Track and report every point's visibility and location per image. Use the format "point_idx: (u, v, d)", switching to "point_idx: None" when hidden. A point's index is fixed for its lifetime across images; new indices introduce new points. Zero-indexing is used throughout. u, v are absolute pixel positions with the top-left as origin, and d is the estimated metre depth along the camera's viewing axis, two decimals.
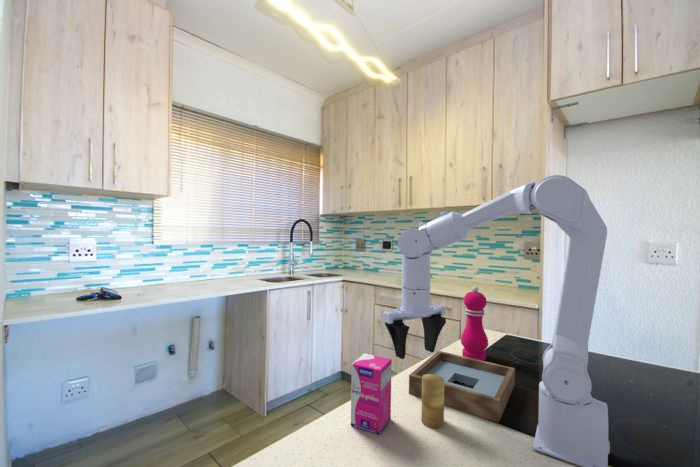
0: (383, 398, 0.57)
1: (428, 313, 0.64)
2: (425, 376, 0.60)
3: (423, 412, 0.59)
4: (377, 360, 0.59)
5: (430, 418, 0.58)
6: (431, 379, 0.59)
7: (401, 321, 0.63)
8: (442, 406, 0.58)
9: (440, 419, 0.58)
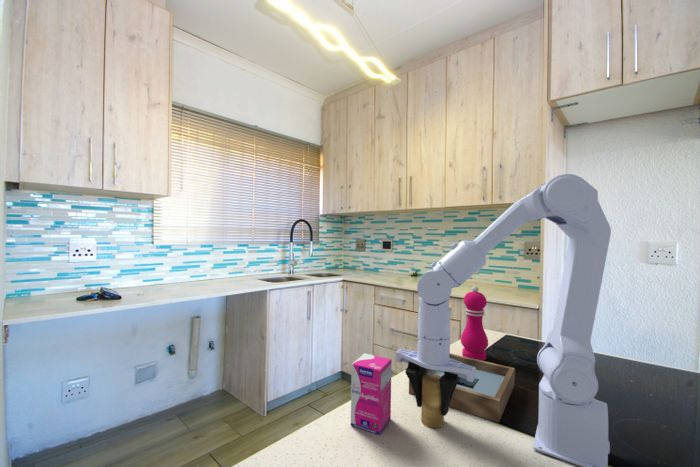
0: (383, 398, 0.57)
1: (431, 367, 0.57)
2: (425, 376, 0.60)
3: (423, 412, 0.59)
4: (377, 360, 0.59)
5: (430, 418, 0.58)
6: (431, 379, 0.59)
7: (410, 364, 0.61)
8: None
9: (440, 419, 0.58)
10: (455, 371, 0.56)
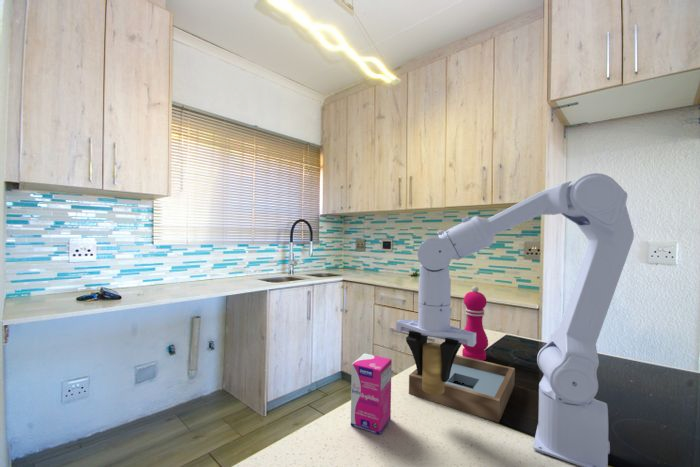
0: (383, 398, 0.57)
1: (432, 333, 0.57)
2: (426, 344, 0.60)
3: (424, 379, 0.59)
4: (377, 360, 0.59)
5: (431, 385, 0.58)
6: (432, 346, 0.59)
7: (411, 333, 0.61)
8: None
9: (441, 386, 0.58)
10: (456, 336, 0.56)
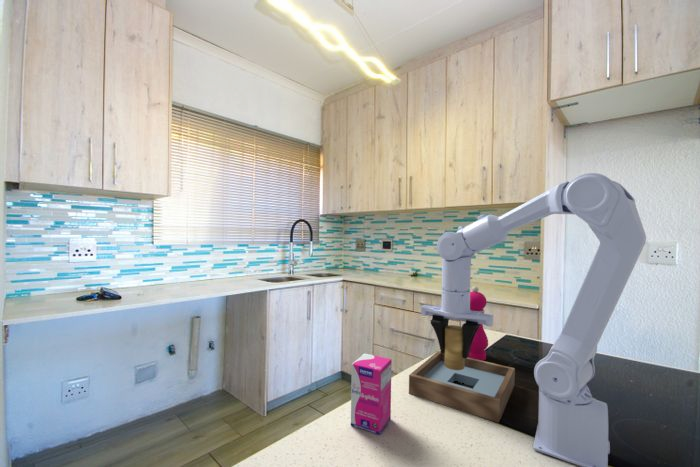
0: (383, 398, 0.57)
1: (455, 315, 0.65)
2: (447, 326, 0.68)
3: (446, 357, 0.67)
4: (377, 360, 0.59)
5: (453, 362, 0.66)
6: (453, 328, 0.67)
7: (434, 316, 0.69)
8: None
9: (462, 362, 0.66)
10: (476, 318, 0.64)
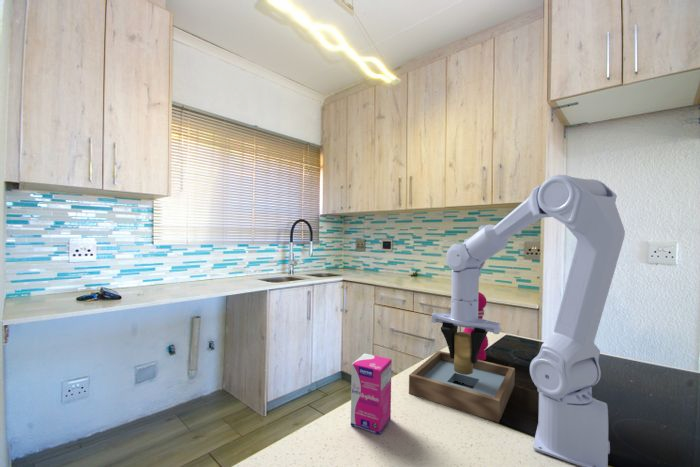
0: (383, 398, 0.57)
1: (464, 323, 0.69)
2: (457, 333, 0.73)
3: (456, 362, 0.71)
4: (377, 360, 0.59)
5: (462, 367, 0.70)
6: (462, 335, 0.71)
7: (444, 324, 0.74)
8: None
9: (470, 367, 0.70)
10: (484, 326, 0.68)
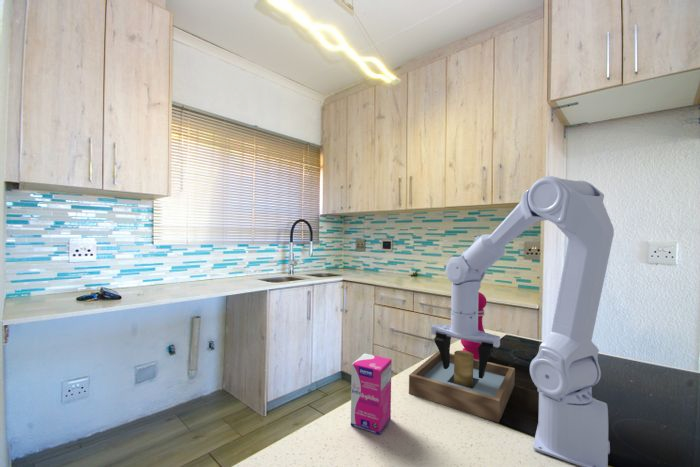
0: (383, 398, 0.57)
1: (464, 336, 0.69)
2: (457, 352, 0.73)
3: (456, 381, 0.71)
4: (377, 360, 0.59)
5: None
6: (462, 354, 0.72)
7: (444, 336, 0.74)
8: (472, 376, 0.71)
9: (470, 386, 0.70)
10: (483, 339, 0.68)
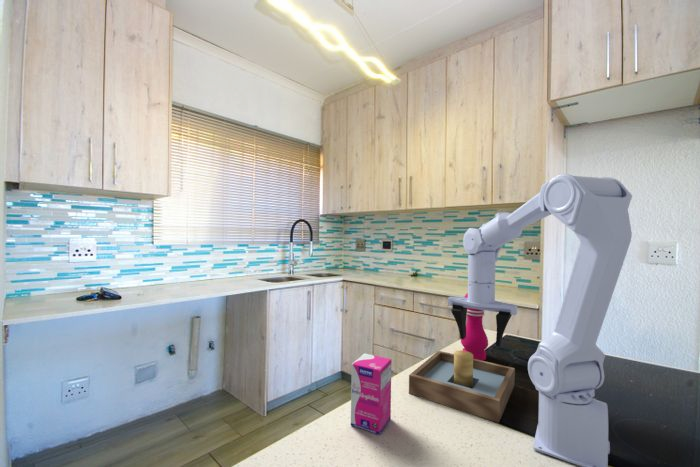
0: (383, 398, 0.57)
1: (481, 305, 0.70)
2: (456, 352, 0.73)
3: (456, 381, 0.71)
4: (377, 360, 0.59)
5: None
6: (462, 354, 0.72)
7: (461, 307, 0.75)
8: (472, 376, 0.71)
9: (470, 386, 0.70)
10: (501, 307, 0.69)
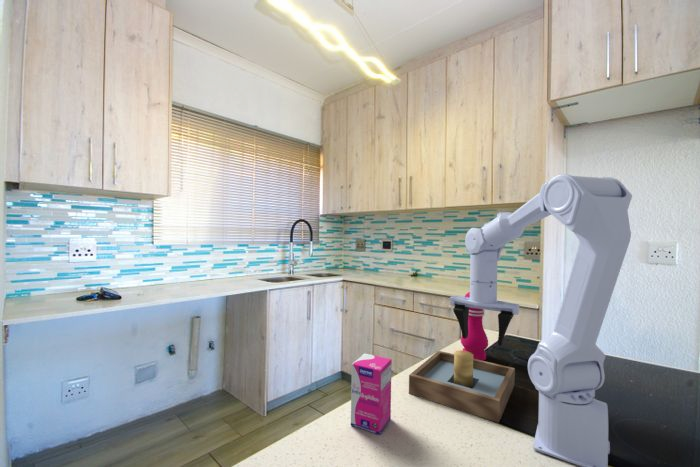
0: (383, 398, 0.57)
1: (483, 304, 0.71)
2: (457, 352, 0.73)
3: (456, 381, 0.71)
4: (377, 360, 0.59)
5: None
6: (462, 354, 0.72)
7: (463, 306, 0.75)
8: (472, 376, 0.71)
9: (470, 386, 0.70)
10: (503, 307, 0.70)
